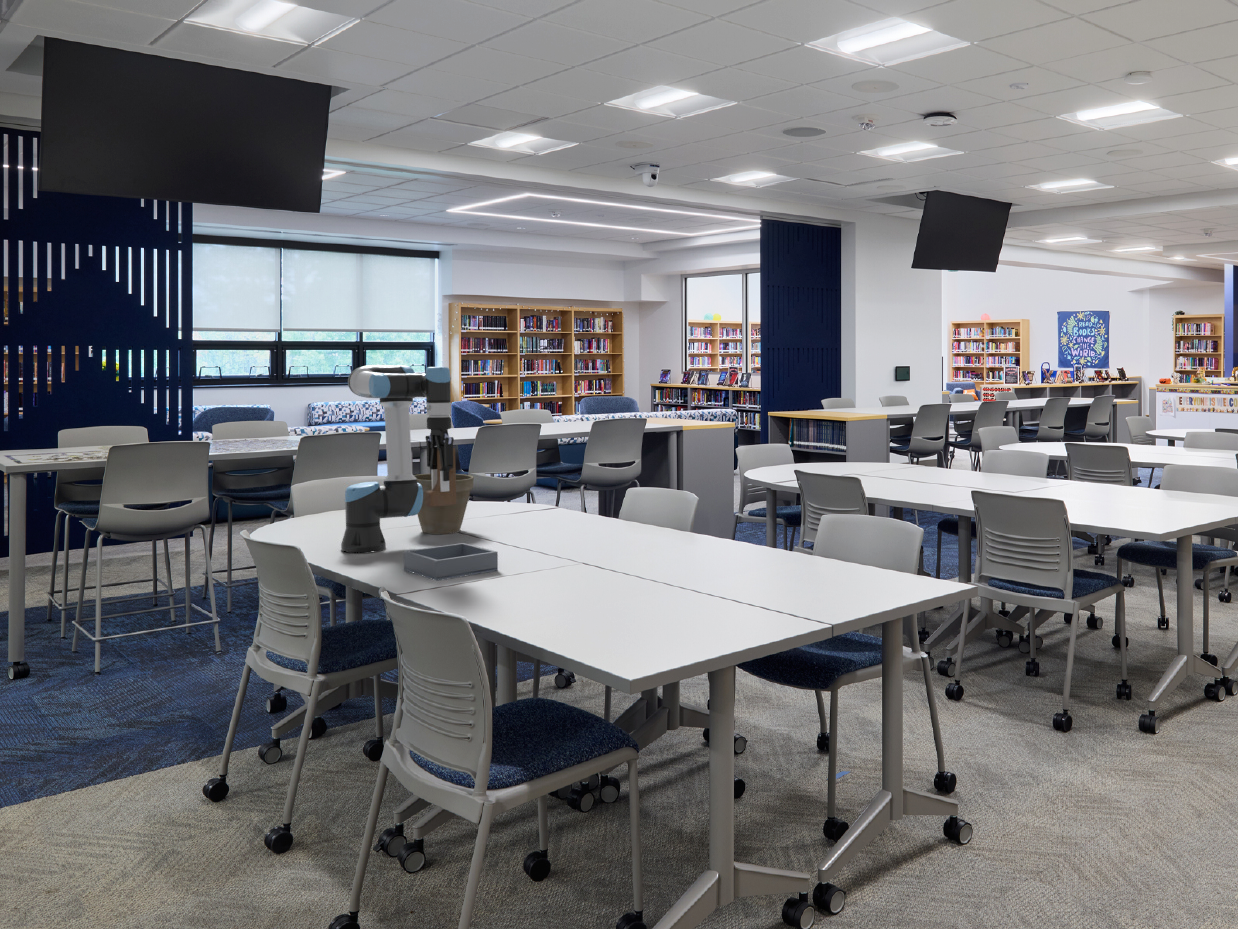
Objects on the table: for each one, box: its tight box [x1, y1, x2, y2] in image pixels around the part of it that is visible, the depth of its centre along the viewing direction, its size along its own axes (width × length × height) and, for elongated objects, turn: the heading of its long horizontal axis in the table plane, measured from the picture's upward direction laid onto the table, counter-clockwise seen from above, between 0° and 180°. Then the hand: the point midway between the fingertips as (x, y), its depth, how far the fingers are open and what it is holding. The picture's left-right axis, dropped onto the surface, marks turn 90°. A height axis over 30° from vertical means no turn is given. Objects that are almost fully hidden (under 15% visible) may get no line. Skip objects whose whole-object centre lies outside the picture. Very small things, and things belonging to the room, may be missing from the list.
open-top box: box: [403, 542, 499, 581], centre depth 302 cm, size 20×22×6 cm
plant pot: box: [413, 473, 474, 535], centre depth 372 cm, size 25×25×22 cm
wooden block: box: [425, 447, 457, 507], centre depth 300 cm, size 9×4×18 cm, turn 124°
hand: (440, 490), depth 300 cm, fingers closed on wooden block, 5 cm apart
